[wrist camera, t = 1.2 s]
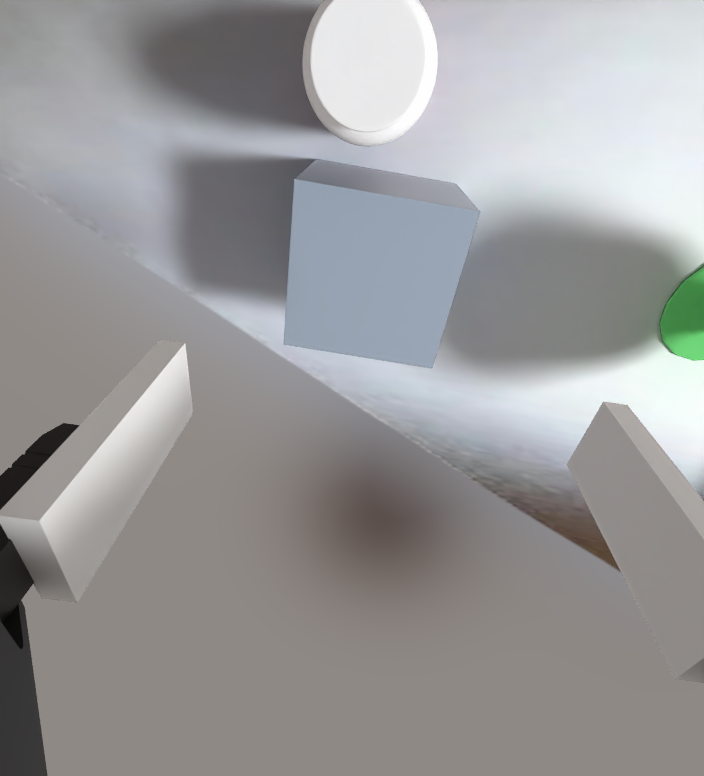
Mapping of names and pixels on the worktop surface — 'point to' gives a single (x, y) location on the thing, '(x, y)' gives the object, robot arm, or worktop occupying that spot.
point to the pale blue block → (374, 261)
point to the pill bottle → (369, 67)
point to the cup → (685, 319)
